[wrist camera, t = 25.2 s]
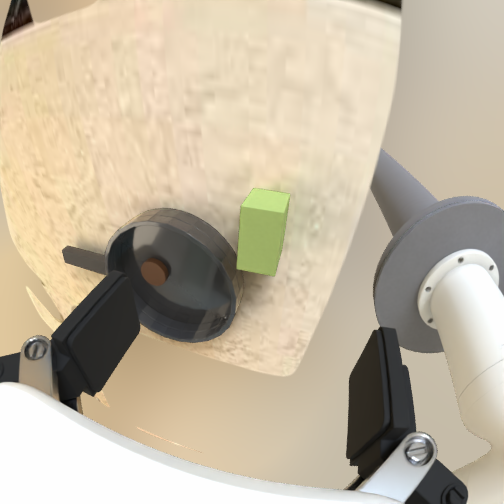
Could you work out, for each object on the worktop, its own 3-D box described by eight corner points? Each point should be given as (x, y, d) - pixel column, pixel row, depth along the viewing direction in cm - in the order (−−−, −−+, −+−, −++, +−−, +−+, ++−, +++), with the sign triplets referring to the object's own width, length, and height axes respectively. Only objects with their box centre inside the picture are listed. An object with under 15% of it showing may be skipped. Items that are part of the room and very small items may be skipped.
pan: (249, 220, 33) (240, 236, 30) (239, 336, 43) (232, 355, 40) (112, 200, 36) (94, 211, 32) (130, 306, 46) (118, 322, 42)
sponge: (290, 193, 30) (284, 213, 26) (281, 250, 34) (274, 276, 29) (253, 187, 31) (240, 205, 26) (248, 244, 35) (236, 269, 30)
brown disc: (170, 265, 38) (167, 269, 38) (166, 286, 41) (163, 290, 40) (145, 253, 38) (141, 257, 38) (143, 274, 41) (139, 278, 40)
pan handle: (114, 257, 39) (108, 263, 38) (117, 271, 40) (111, 276, 39) (67, 245, 41) (61, 250, 39) (70, 257, 42) (65, 262, 40)
